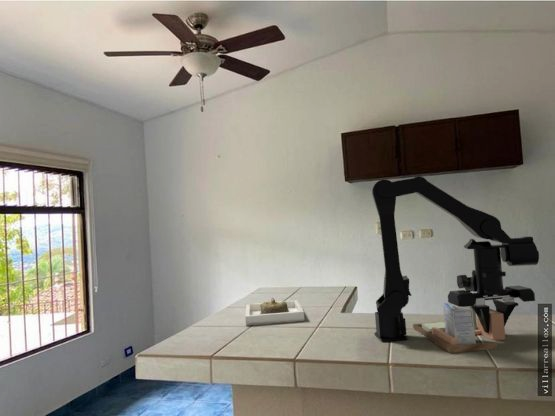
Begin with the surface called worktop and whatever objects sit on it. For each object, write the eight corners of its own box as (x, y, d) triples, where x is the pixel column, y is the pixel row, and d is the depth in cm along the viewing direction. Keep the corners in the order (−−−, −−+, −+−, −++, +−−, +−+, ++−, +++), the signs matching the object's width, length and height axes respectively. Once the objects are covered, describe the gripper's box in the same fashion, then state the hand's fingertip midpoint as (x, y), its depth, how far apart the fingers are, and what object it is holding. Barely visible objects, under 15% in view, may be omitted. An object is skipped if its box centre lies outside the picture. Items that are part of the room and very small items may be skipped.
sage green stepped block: (430, 334, 100) (428, 311, 100) (422, 329, 105) (420, 306, 105) (478, 330, 101) (476, 307, 101) (467, 325, 106) (465, 302, 106)
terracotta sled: (452, 350, 88) (450, 323, 88) (432, 337, 98) (430, 312, 99) (517, 344, 89) (514, 317, 89) (490, 331, 99) (488, 307, 99)
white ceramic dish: (245, 325, 121) (245, 316, 121) (246, 312, 139) (246, 304, 139) (304, 320, 122) (303, 311, 122) (297, 308, 140) (297, 300, 140)
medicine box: (476, 348, 89) (473, 309, 89) (455, 348, 89) (452, 310, 89) (464, 337, 96) (461, 301, 97) (445, 338, 97) (442, 302, 97)
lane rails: (449, 353, 87) (449, 347, 87) (413, 328, 106) (412, 324, 106) (497, 348, 87) (496, 343, 87) (452, 325, 107) (451, 320, 107)
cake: (286, 319, 126) (285, 302, 125) (256, 320, 128) (254, 303, 127) (291, 309, 135) (289, 293, 135) (262, 310, 137) (261, 294, 137)
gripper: (504, 260, 104) (509, 320, 104) (435, 266, 103) (440, 326, 103) (533, 265, 93) (539, 332, 93) (457, 271, 92) (462, 339, 92)
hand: (493, 331), depth 95 cm, fingers closed on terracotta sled, 3 cm apart
